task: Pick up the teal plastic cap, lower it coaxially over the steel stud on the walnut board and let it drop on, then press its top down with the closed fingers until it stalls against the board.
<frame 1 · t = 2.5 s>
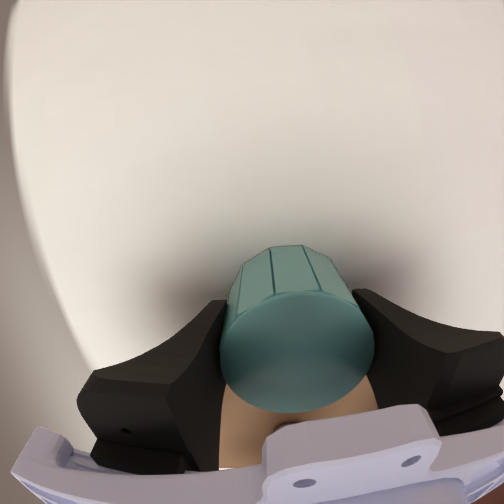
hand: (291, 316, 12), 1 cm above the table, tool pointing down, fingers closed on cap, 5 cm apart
stud board: (290, 421, 16), on the table
cap: (288, 300, 13), on the table, touching gripper
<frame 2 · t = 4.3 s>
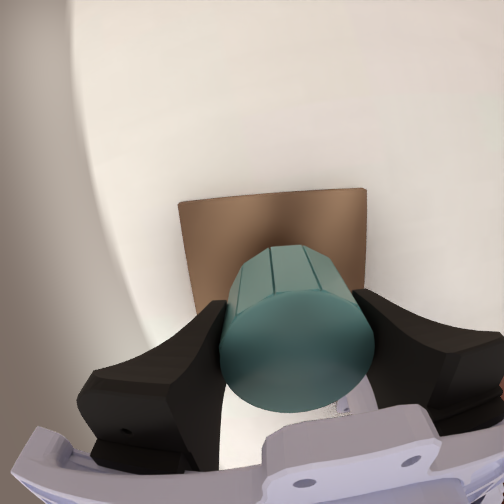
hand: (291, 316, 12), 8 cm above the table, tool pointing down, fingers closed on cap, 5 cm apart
stud board: (278, 265, 20), on the table
cap: (288, 299, 13), point 7 cm above the table, touching gripper
when the fingers open (4 cm above the table, at t = 5.8 s): cap drops 2 cm, resting on stud board.
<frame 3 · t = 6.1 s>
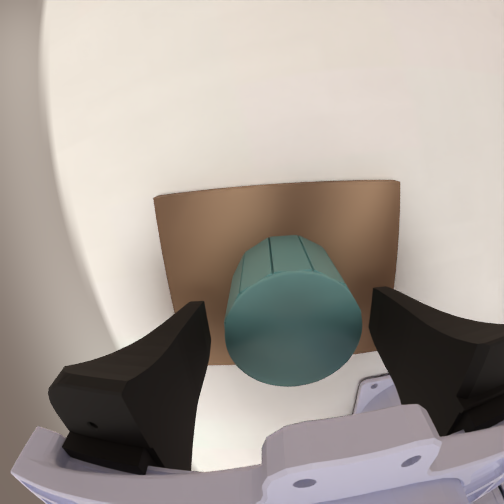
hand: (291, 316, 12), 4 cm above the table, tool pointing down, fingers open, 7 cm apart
stud board: (284, 279, 16), on the table
cap: (285, 285, 15), point 1 cm above the table, touching stud board
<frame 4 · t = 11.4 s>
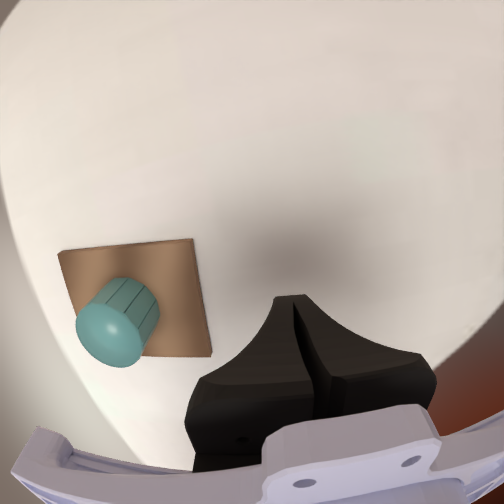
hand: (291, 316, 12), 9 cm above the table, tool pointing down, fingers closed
stud board: (132, 302, 23), on the table
cap: (129, 307, 22), point 1 cm above the table, touching stud board
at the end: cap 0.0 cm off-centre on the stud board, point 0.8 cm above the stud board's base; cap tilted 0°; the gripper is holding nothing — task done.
